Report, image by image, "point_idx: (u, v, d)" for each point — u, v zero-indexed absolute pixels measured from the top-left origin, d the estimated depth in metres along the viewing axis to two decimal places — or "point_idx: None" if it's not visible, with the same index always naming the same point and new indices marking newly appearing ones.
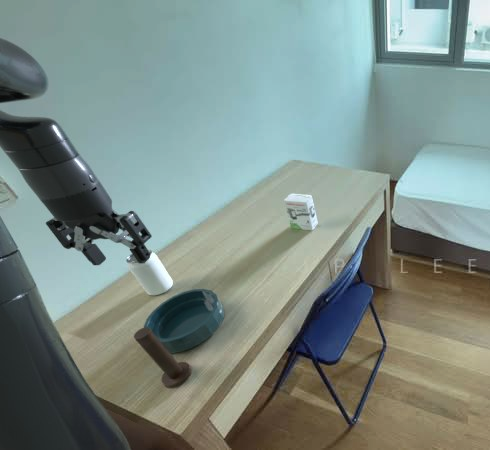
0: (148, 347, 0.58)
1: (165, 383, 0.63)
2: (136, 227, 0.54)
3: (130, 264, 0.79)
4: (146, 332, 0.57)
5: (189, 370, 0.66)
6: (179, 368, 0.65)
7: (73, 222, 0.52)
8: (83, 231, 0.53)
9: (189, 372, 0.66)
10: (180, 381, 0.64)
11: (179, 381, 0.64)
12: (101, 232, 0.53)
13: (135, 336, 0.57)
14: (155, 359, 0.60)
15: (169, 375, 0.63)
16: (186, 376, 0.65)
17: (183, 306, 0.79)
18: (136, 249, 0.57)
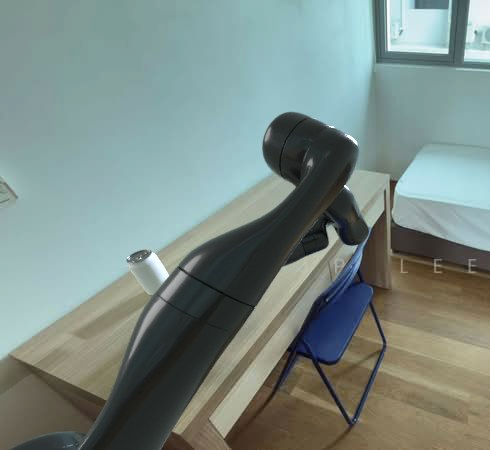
0: None
1: None
2: None
3: (130, 264, 0.79)
4: None
5: None
6: None
7: None
8: None
9: None
10: None
11: None
12: None
13: None
14: None
15: None
16: None
17: None
18: None
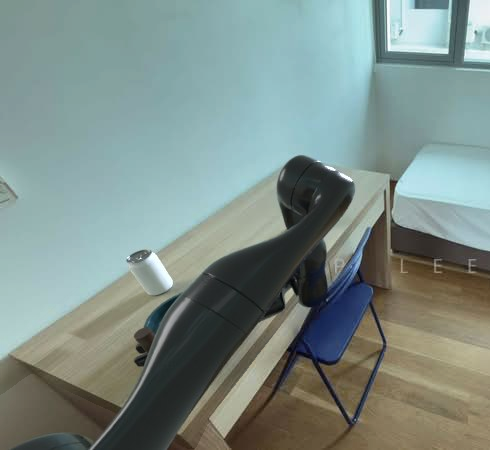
0: (148, 347, 0.58)
1: None
2: None
3: (130, 264, 0.79)
4: (146, 332, 0.57)
5: None
6: None
7: None
8: None
9: None
10: None
11: None
12: None
13: (135, 336, 0.57)
14: None
15: None
16: None
17: None
18: None
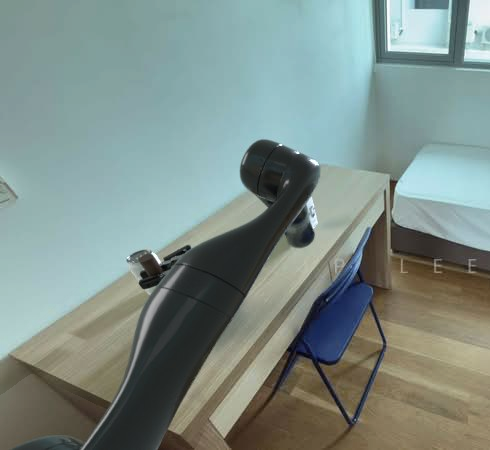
0: (151, 271, 0.65)
1: None
2: None
3: (130, 264, 0.79)
4: (149, 257, 0.64)
5: None
6: None
7: None
8: None
9: None
10: None
11: None
12: None
13: (139, 260, 0.63)
14: None
15: None
16: None
17: None
18: (157, 277, 0.65)
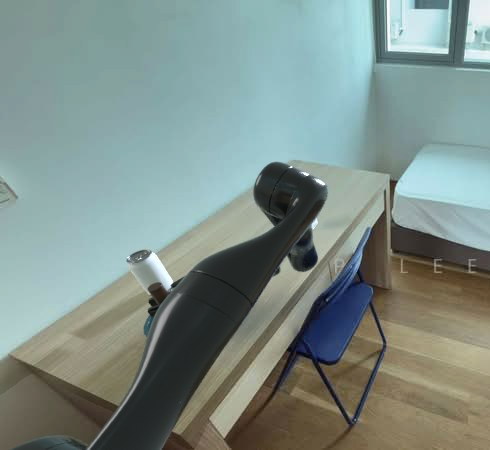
0: (160, 299, 0.66)
1: None
2: None
3: (130, 264, 0.79)
4: (158, 286, 0.66)
5: None
6: None
7: None
8: None
9: None
10: None
11: None
12: None
13: (148, 289, 0.65)
14: None
15: None
16: None
17: None
18: None
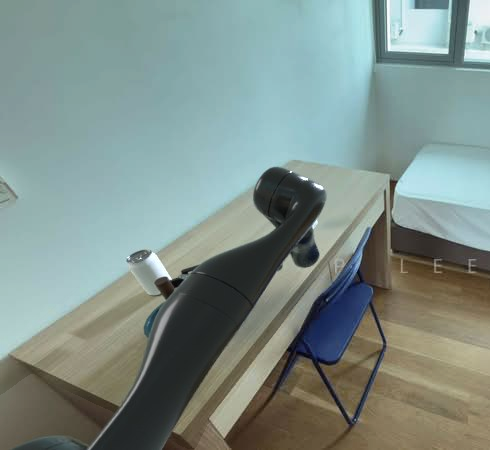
0: (166, 293, 0.68)
1: None
2: None
3: (130, 264, 0.79)
4: (164, 280, 0.68)
5: None
6: None
7: None
8: None
9: None
10: None
11: None
12: None
13: (155, 283, 0.67)
14: None
15: None
16: None
17: None
18: None
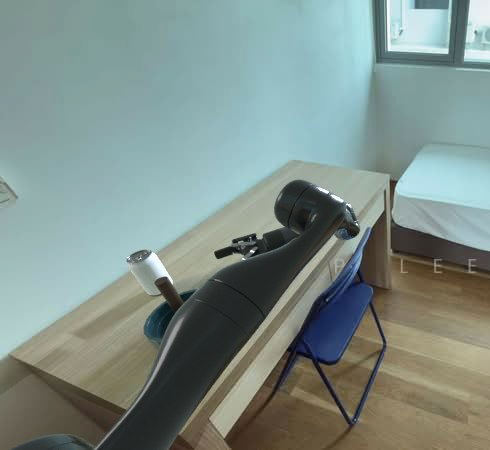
0: (166, 293, 0.68)
1: None
2: None
3: (130, 264, 0.79)
4: (164, 280, 0.68)
5: None
6: None
7: (257, 242, 0.78)
8: (251, 245, 0.76)
9: None
10: None
11: None
12: (252, 251, 0.74)
13: (155, 283, 0.67)
14: (171, 305, 0.70)
15: None
16: None
17: None
18: None
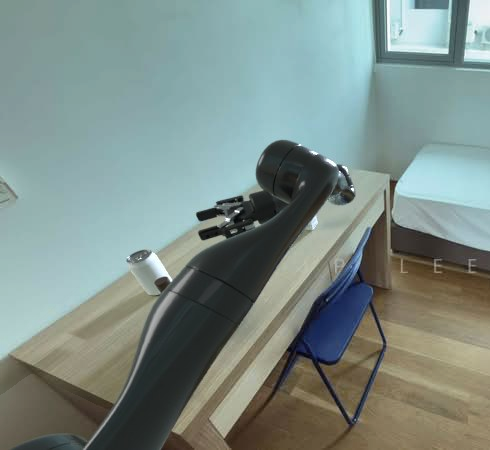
0: None
1: None
2: (241, 228, 0.64)
3: (130, 264, 0.79)
4: (164, 280, 0.68)
5: None
6: None
7: (243, 203, 0.71)
8: (236, 205, 0.69)
9: None
10: None
11: None
12: (237, 211, 0.67)
13: (155, 283, 0.67)
14: None
15: None
16: None
17: None
18: (216, 229, 0.64)
